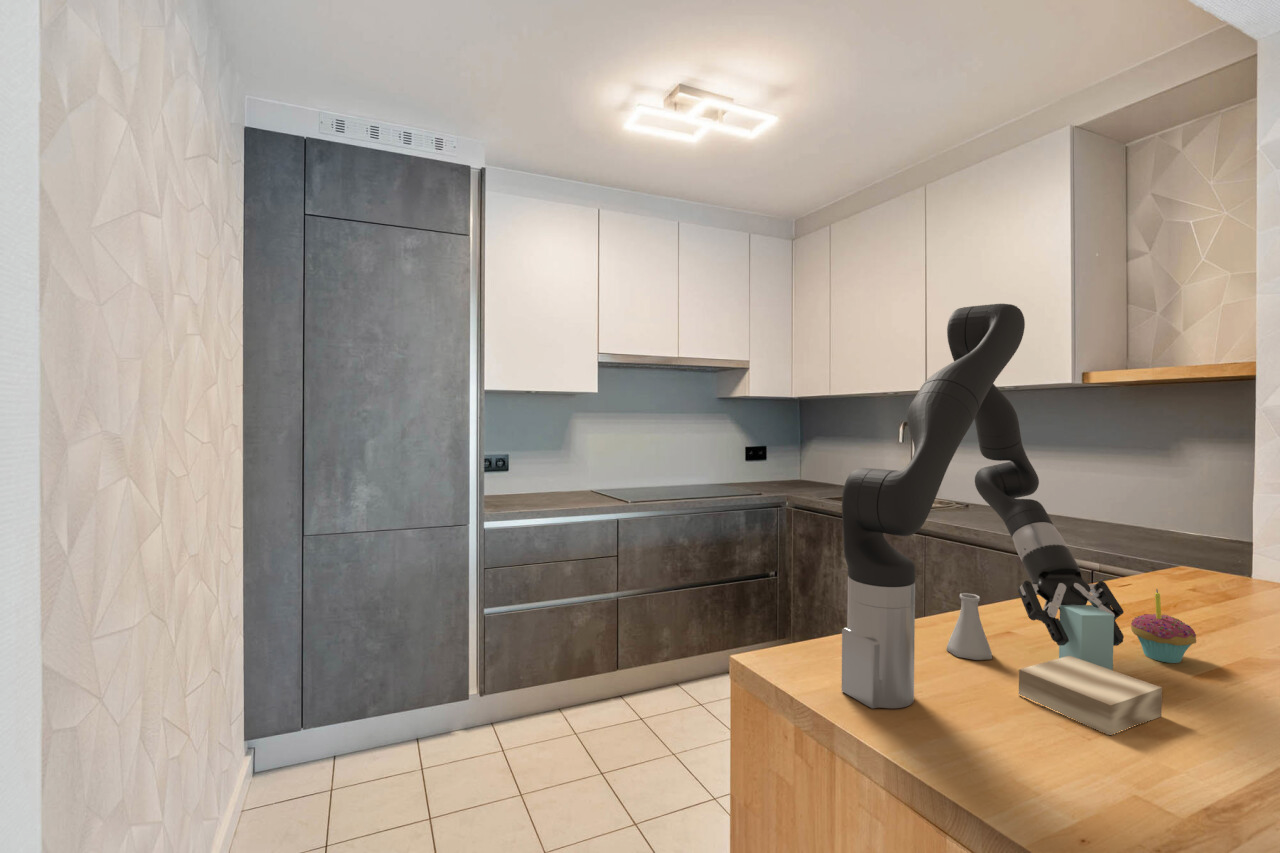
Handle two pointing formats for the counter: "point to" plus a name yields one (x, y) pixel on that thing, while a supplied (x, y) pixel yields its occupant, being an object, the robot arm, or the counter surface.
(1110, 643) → the teal block
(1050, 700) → the birch plinth
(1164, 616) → the cupcake
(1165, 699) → the counter surface
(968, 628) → the flask
